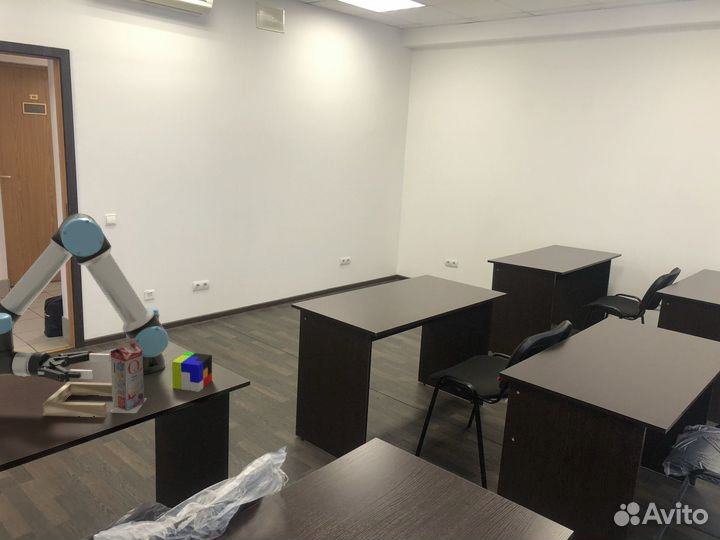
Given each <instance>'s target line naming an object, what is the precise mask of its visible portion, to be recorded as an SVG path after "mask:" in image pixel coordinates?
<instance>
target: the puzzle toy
mask: <svg viewBox="0 0 720 540" xmlns="http://www.w3.org/2000/svg"><path fill="white" fill-rule="evenodd" d="M171 366H172V373H171V374H172V389H179V390H183V391H190V390H191V391H192V392H197V393H199V392H200V391H202V390H203V389H204V388H205V387H206V386H207V385H209V384H210V383H211V382H212V381H213V355H212V354H205V353H197V352H191V351H185V352H184V353H183V354H182V355H180V356H179V357H177V358H175V359H173V361H172V365H171ZM208 383H209V384H208Z"/></svg>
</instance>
